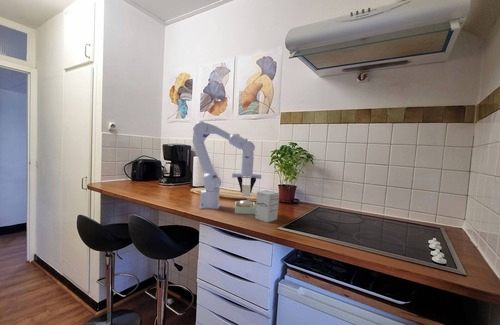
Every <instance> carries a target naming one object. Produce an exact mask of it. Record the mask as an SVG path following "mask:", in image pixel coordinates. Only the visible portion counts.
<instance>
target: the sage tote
mask: <svg viewBox="0 0 500 325" xmlns="http://www.w3.org/2000/svg"><path fill="white" fill-rule="evenodd" d="M239 203H240V200H237V201H235V202H234V214H243V215H246V214H247V215H255V214H256V203H255V201H251V207H239Z"/></svg>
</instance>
